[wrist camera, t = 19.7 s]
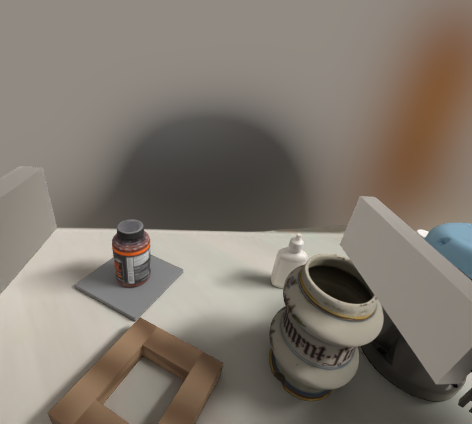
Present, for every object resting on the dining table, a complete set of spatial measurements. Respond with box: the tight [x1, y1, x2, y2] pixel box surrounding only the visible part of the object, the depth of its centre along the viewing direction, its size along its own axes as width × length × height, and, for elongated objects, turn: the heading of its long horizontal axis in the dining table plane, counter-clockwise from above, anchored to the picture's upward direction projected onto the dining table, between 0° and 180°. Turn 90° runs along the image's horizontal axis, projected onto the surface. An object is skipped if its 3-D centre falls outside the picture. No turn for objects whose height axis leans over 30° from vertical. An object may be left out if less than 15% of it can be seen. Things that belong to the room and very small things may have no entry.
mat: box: [75, 255, 183, 321], centre depth 49 cm, size 13×13×1 cm
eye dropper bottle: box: [271, 234, 308, 288], centre depth 51 cm, size 4×6×12 cm
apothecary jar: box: [270, 254, 384, 401], centre depth 35 cm, size 12×12×18 cm
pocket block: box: [48, 318, 223, 424], centre depth 33 cm, size 14×14×2 cm
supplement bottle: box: [112, 220, 151, 287], centre depth 46 cm, size 6×6×11 cm
